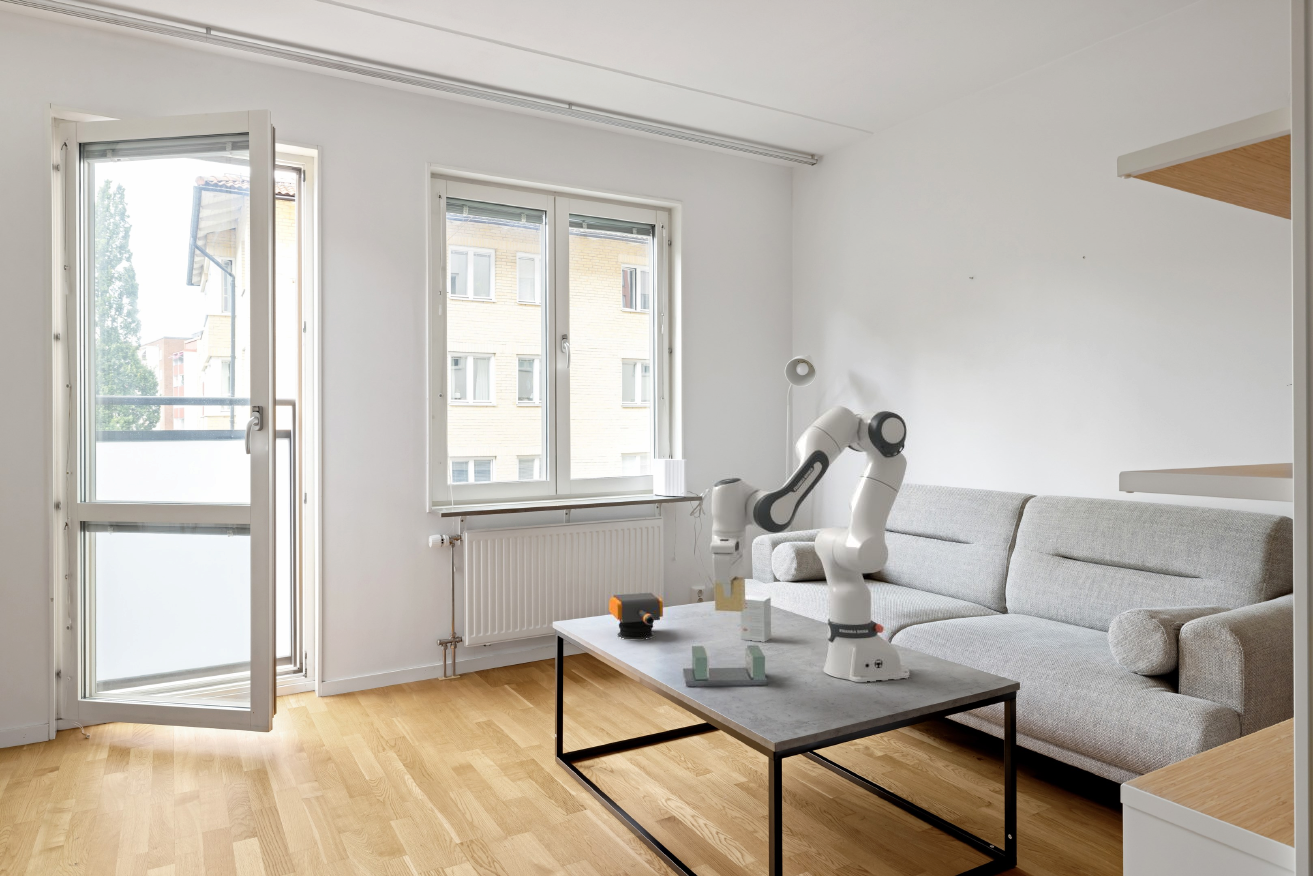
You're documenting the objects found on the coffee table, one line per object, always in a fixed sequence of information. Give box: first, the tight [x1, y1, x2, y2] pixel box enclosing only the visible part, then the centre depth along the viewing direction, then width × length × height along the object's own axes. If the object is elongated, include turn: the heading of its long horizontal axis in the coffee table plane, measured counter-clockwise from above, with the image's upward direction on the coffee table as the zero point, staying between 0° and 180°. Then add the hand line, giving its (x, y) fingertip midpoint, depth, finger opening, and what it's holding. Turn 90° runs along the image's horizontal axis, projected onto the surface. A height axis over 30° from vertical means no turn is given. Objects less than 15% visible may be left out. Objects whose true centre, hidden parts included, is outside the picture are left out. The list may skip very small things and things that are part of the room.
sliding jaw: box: [691, 645, 710, 680], centre depth 220 cm, size 4×11×6 cm, turn 2°
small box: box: [740, 594, 772, 643], centre depth 262 cm, size 8×6×13 cm
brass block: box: [714, 576, 746, 613], centre depth 217 cm, size 4×7×8 cm, turn 73°
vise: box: [682, 644, 768, 687], centre depth 220 cm, size 21×11×8 cm, turn 92°
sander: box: [608, 592, 664, 640], centre depth 263 cm, size 15×25×13 cm, turn 16°
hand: (730, 594), depth 217 cm, fingers closed on brass block, 4 cm apart
